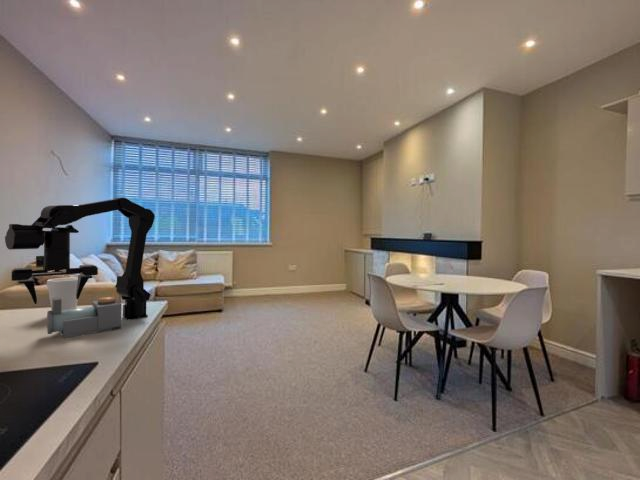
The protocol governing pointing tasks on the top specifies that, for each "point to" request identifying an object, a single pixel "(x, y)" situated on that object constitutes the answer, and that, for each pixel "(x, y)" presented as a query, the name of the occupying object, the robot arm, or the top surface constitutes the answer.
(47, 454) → the top surface
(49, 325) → the cartridge
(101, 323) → the housing
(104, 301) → the plunger
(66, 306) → the foam cup
